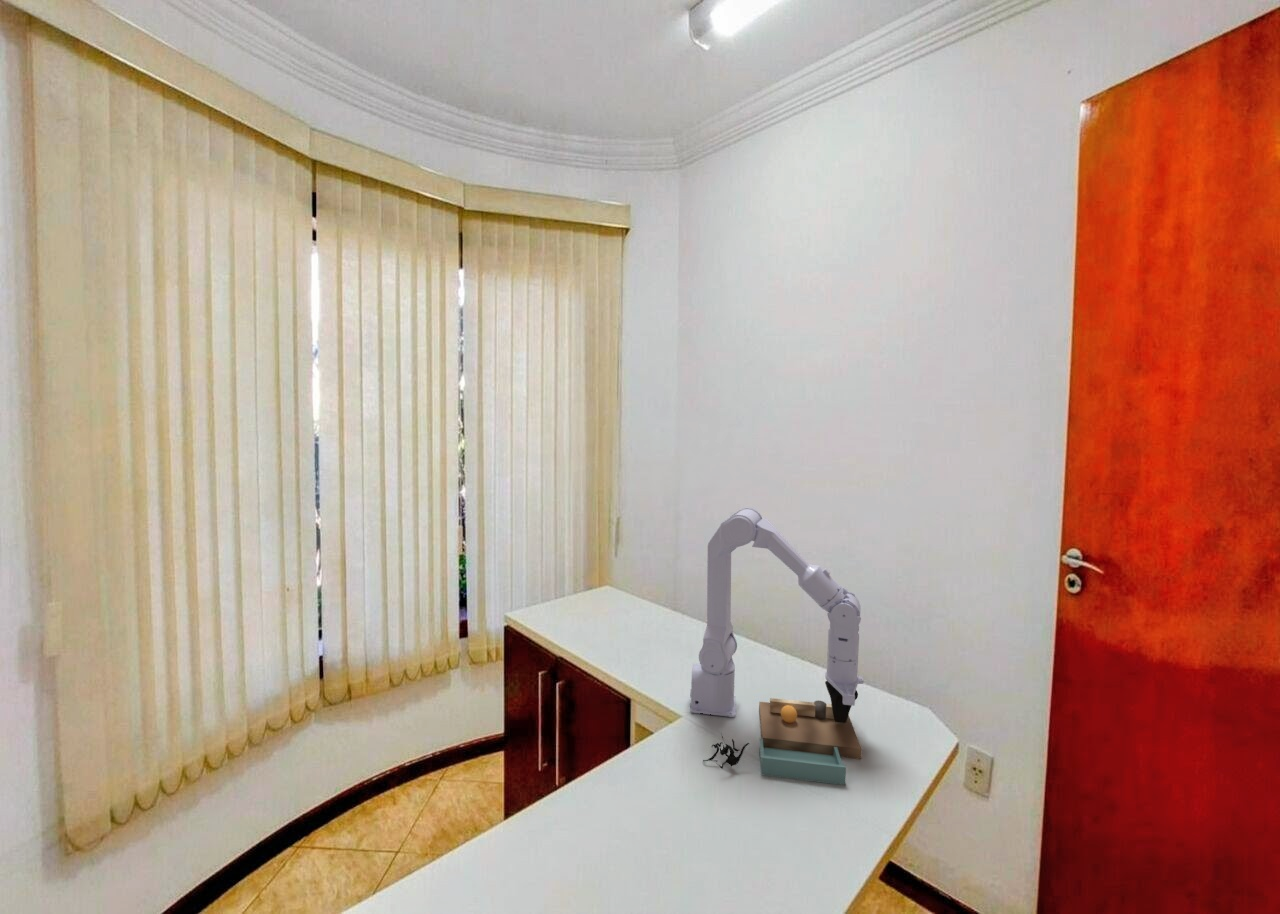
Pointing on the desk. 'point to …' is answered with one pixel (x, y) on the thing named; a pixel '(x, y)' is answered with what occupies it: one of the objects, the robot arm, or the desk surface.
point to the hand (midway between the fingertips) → (839, 720)
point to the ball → (788, 714)
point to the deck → (808, 734)
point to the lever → (804, 708)
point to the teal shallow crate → (802, 765)
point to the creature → (731, 758)
